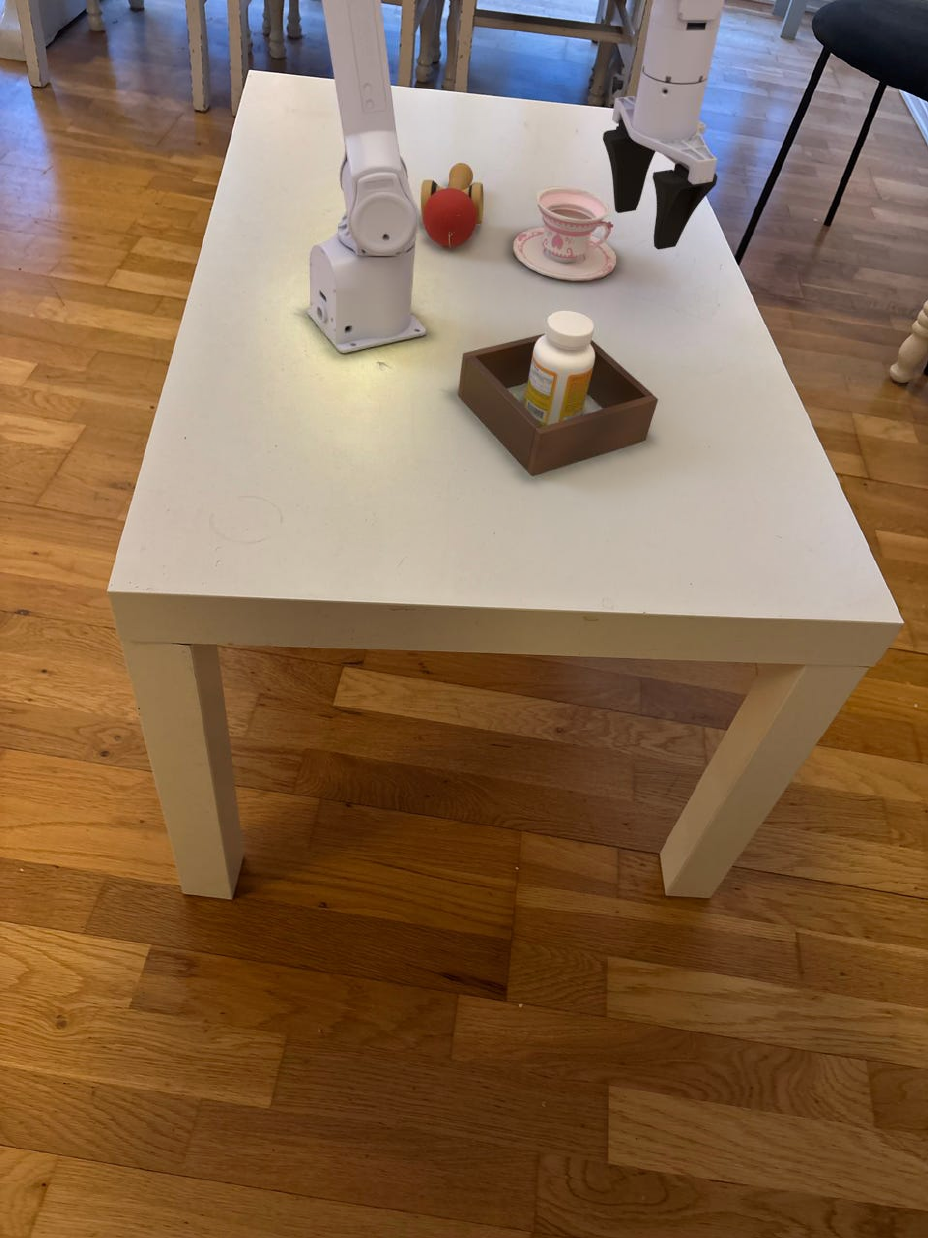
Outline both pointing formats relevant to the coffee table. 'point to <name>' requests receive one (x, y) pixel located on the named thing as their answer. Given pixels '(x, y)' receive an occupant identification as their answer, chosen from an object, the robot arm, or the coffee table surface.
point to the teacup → (567, 236)
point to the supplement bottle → (561, 368)
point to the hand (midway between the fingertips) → (644, 227)
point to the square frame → (564, 440)
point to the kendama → (452, 207)
